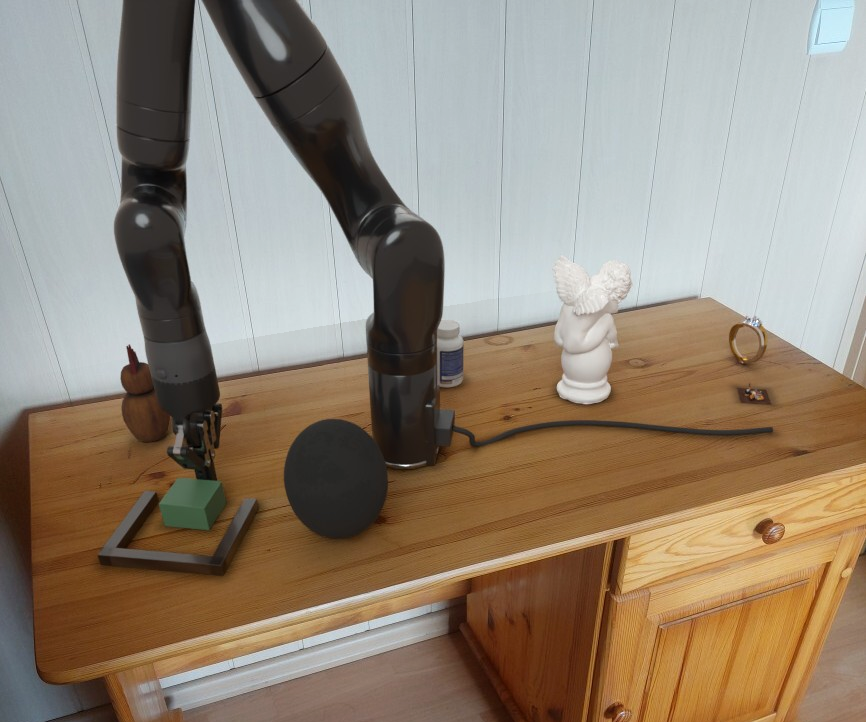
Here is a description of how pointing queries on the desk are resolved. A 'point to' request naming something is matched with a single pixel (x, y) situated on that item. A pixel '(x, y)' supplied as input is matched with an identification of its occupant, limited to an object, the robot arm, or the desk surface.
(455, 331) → the pill bottle
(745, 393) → the diorama
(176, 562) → the frame
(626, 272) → the cherub figurine
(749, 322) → the ring
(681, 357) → the desk surface
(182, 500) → the green block
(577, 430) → the desk surface
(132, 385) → the wooden figurine
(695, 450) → the desk surface
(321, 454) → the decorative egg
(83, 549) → the desk surface
